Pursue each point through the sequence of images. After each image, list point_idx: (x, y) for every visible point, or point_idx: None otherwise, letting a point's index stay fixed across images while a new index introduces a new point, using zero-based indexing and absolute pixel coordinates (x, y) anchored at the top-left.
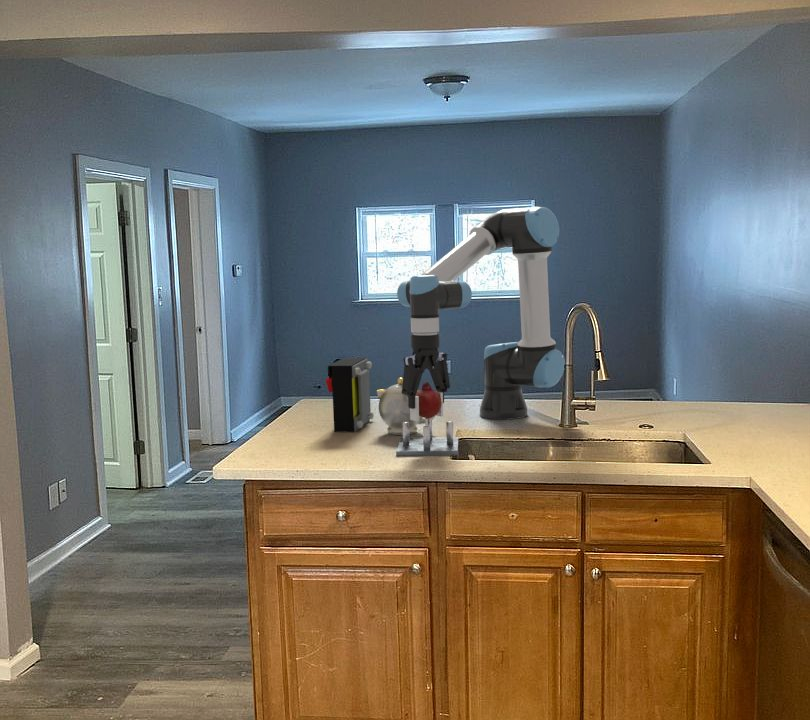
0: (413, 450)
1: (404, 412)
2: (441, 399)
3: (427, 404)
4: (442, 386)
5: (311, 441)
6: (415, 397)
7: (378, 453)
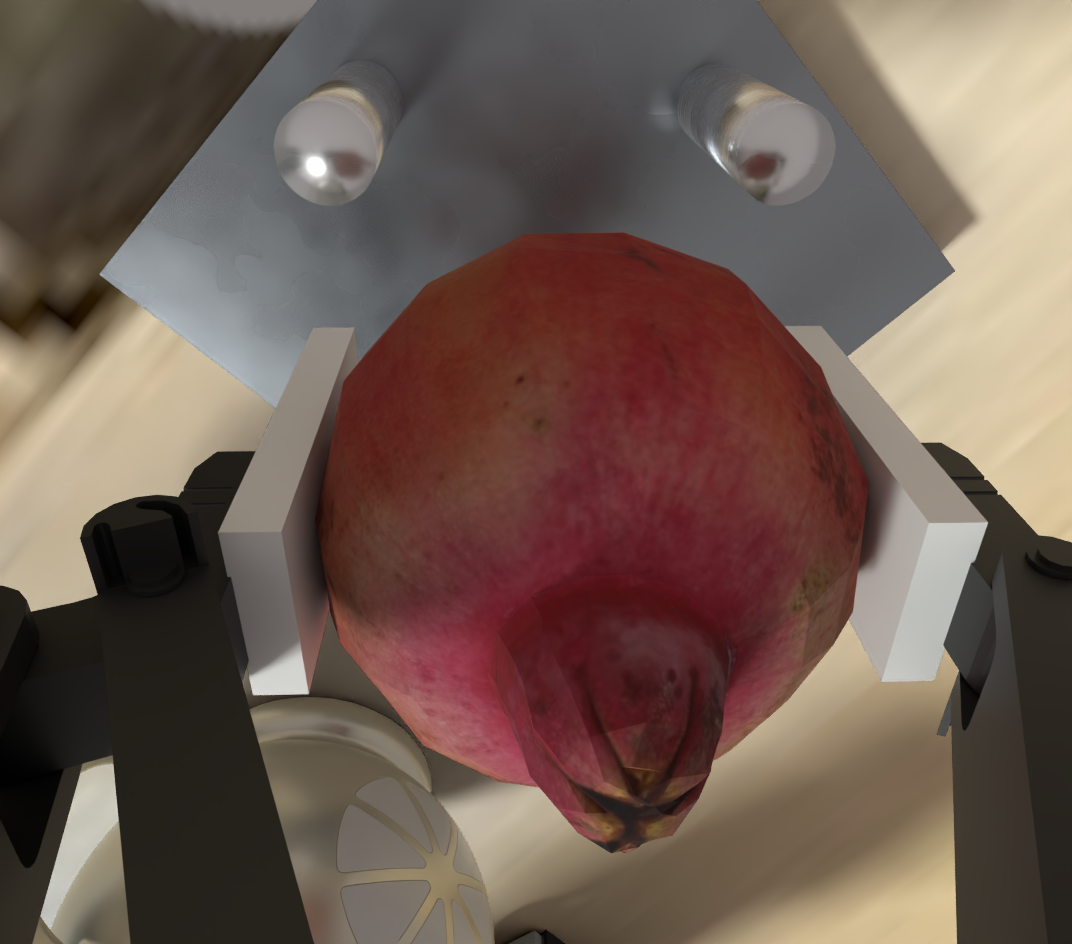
0: (836, 172)
1: (388, 835)
2: (288, 455)
3: (779, 328)
4: (170, 631)
5: (879, 907)
6: (969, 539)
7: (930, 433)
